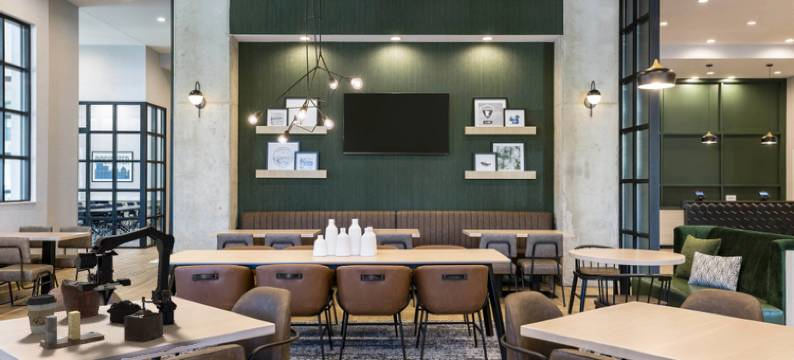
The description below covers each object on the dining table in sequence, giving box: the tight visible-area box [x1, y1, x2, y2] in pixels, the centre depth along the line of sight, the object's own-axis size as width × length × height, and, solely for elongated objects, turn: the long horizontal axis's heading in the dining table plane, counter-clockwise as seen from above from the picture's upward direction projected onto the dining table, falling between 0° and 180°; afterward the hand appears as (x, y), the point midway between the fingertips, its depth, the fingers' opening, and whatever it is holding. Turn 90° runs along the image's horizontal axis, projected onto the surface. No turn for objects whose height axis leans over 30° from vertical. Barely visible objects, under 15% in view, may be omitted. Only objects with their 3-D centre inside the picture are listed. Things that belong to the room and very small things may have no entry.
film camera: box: [106, 299, 147, 324], centre depth 252 cm, size 18×12×10 cm
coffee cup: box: [25, 293, 58, 335], centre depth 234 cm, size 11×11×15 cm
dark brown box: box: [123, 290, 173, 343], centre depth 225 cm, size 16×11×18 cm
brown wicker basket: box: [60, 278, 105, 319], centre depth 267 cm, size 18×20×18 cm
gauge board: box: [39, 314, 105, 350], centre depth 218 cm, size 20×10×12 cm, turn 137°
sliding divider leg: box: [67, 311, 81, 340], centre depth 218 cm, size 3×8×10 cm, turn 47°
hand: (105, 305), depth 228 cm, fingers closed
